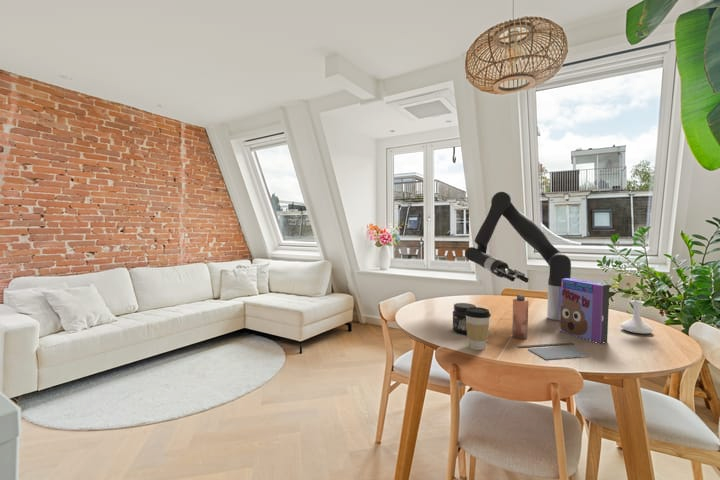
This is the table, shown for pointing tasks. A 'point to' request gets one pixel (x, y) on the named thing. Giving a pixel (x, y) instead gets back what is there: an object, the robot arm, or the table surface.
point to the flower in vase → (635, 322)
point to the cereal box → (584, 309)
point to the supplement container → (460, 317)
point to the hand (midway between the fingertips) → (520, 280)
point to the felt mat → (557, 352)
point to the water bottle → (520, 318)
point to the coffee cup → (477, 327)
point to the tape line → (544, 345)
